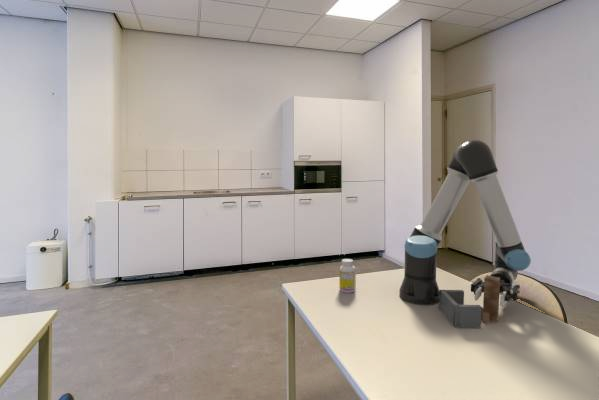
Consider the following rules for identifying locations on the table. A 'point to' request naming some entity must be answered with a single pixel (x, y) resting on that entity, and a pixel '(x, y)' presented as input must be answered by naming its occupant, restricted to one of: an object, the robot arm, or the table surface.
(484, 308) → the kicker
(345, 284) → the supplement bottle
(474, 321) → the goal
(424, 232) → the robot arm
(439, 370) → the table surface
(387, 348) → the table surface
